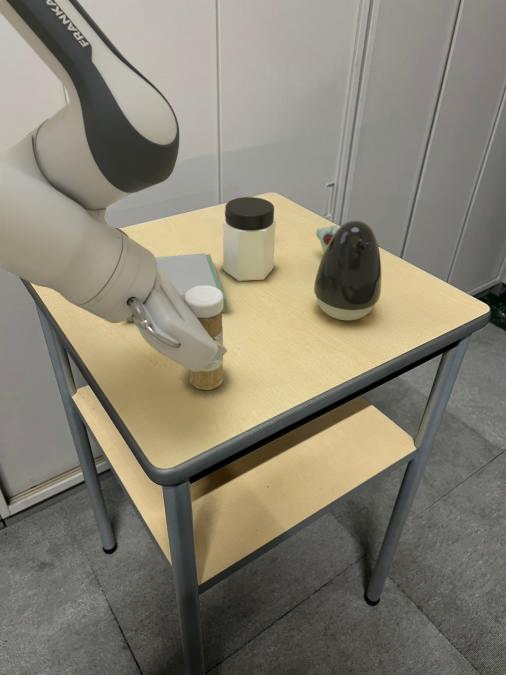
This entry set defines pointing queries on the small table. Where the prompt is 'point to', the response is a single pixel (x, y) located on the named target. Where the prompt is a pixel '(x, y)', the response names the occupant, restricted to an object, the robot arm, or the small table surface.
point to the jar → (248, 238)
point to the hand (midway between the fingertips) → (205, 330)
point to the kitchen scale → (190, 272)
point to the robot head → (326, 235)
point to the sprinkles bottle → (209, 313)
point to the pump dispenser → (349, 273)
